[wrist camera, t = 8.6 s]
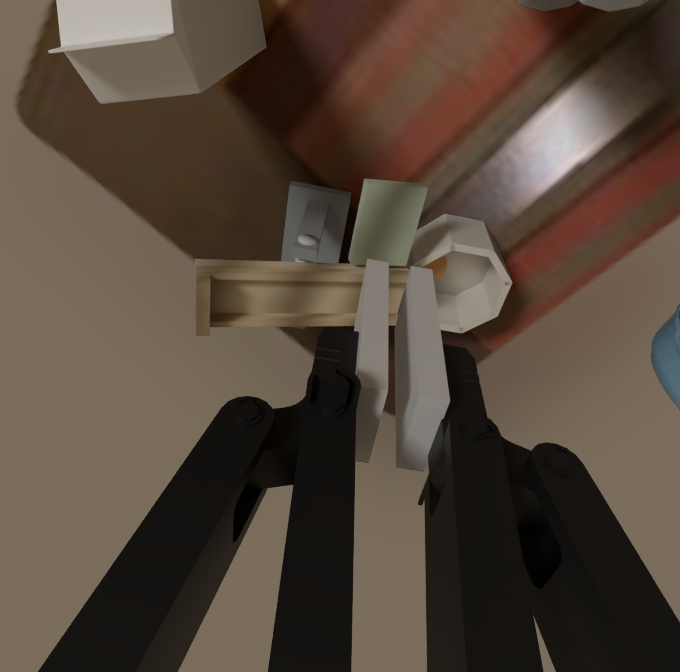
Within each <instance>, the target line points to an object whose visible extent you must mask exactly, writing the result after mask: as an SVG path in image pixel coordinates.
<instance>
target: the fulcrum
mask: <svg viewBox="0 0 680 672" xmlns="http://www.w3.org/2000/svg"><path fill="white" fill-rule="evenodd" d="M351 194H352V192H347V191H342V190H337V189H332V188H326V187H321V186H316V185H311V184H306V183H301V182H296V181H291V183H290V187H289V195H288V204H287V213H286V222H285V231H284V240H283V249H282V257H281V262H310V263H338V262H339V257H340V252H341V246H342V241H343V236H344V231H345V225H346V220H347V215H348V210H349V205H350V199H351ZM290 327H296V328H301V329H305V326H290Z"/></svg>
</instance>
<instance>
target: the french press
mask: <svg viewBox="0 0 680 672" xmlns="http://www.w3.org/2000/svg"><path fill="white" fill-rule="evenodd" d="M516 1H517V2H518V3H519V4H520V5H522V6H525V7H529V8H533V9H536V10H540V11H543V12H544V11H549V10H554V9H560V8H565V7H570V6H571V5H573V4H574V3H576V2H577V1H580V2H581V3H582V4H584V5H588V6H591V7H595V8H598V9H602V10H605V11H609V12H610V11H615V10H621V9H626V8H632V7H637V6H641V5H642V4H644V3H646V2H648V1H649V0H516Z"/></svg>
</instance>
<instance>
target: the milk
mask: <svg viewBox="0 0 680 672" xmlns="http://www.w3.org/2000/svg"><path fill="white" fill-rule="evenodd" d="M56 2H57V11H58V21H59V30H60V40H61V47H60V48H56V49H52V50H49V53H57V52H64V53H65V54H66V56H67V57H68V58H69V60H70V61H71V63H72V64H73V66H74V67H75V68H76V70H77V71H78V73H79V74H80V76H81V77H82V78H83V80H84V81H85V83H86V84H87V86H88V87H89V89H90V90H91V91H92V93H93V94H94V96H95V97H96V99H97V100H98V101H99V102H100V103H101V104H106V103H115V102H124V101H133V100H143V99H152V98H161V97H170V96H179V95H189V94H198V93H201V92H203V91H204V90H206V89H207V88H209V87H210V86H212V85H213V84H214V83H216V82H217V81H219V80H220V79H222V78H223V77H225V76H226V75H227V74H229V73H230V72H232V71H233V70H235V69H236V68H238V67H239V66H240V65H242V64H243V63H245V62H246V61H248V60H249V59H251V58H252V57H253V56H255V55H256V54H258V53H259V52H261V51H262V50H264V49H265V48H266V47H267V46H266V40H265V34H264V28H263V22H262V16H261V10H260V5H259V0H56Z"/></svg>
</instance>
